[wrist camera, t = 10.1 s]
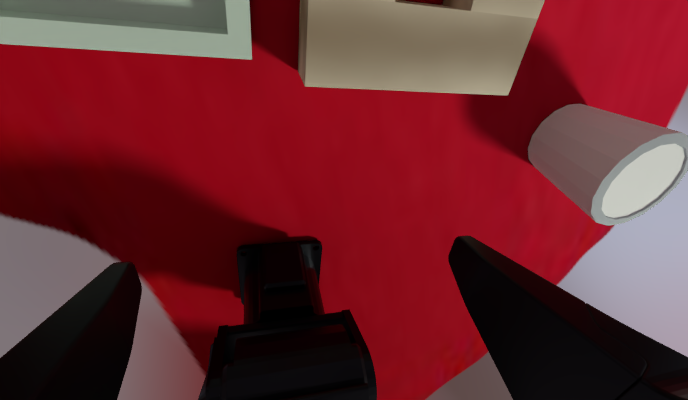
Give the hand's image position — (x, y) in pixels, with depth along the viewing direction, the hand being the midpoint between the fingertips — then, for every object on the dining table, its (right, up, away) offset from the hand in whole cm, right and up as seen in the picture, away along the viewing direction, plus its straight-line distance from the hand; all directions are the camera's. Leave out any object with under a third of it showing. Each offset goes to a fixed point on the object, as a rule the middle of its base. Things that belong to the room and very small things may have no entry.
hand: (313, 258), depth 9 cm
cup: (+18, +7, +17) cm, 26 cm away
